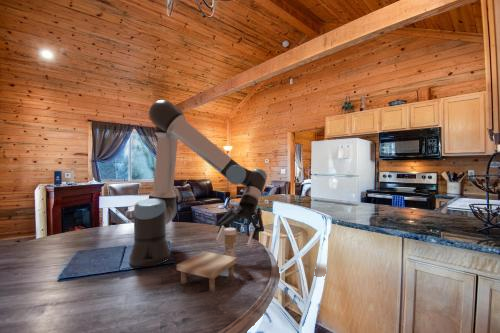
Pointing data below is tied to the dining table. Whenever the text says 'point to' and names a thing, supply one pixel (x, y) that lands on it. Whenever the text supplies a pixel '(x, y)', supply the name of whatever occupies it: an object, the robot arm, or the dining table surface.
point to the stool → (207, 266)
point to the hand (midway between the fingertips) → (233, 244)
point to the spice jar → (230, 242)
